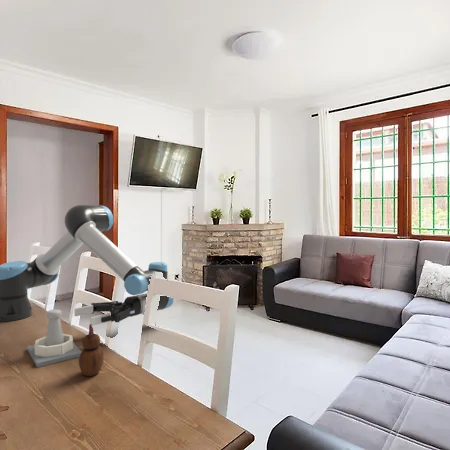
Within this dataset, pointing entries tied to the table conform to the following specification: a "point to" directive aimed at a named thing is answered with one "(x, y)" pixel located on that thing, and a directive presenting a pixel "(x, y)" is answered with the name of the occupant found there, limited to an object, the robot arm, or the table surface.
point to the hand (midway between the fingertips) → (82, 316)
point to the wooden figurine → (91, 354)
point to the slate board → (44, 361)
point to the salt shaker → (54, 328)
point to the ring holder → (53, 347)
